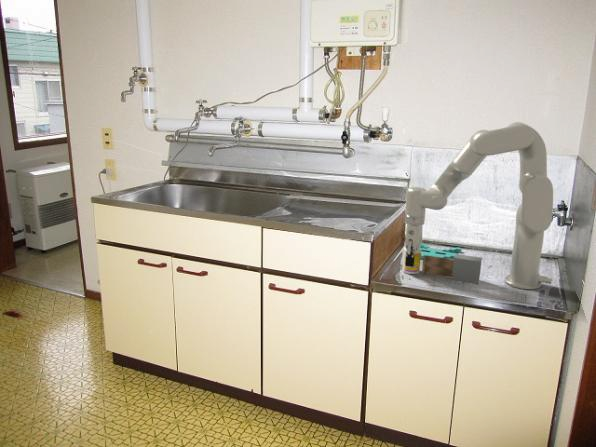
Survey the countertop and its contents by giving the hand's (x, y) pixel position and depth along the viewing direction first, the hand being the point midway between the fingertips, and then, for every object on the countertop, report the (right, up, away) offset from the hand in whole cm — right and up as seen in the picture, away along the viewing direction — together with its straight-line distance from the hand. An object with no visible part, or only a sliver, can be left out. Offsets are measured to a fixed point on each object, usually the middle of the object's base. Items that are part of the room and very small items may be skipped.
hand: (411, 262), depth 192 cm
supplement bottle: (0, -4, +1) cm, 4 cm away
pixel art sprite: (+15, +1, +22) cm, 27 cm away
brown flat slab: (+10, -5, -4) cm, 12 cm away
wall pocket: (+19, -6, -7) cm, 21 cm away
